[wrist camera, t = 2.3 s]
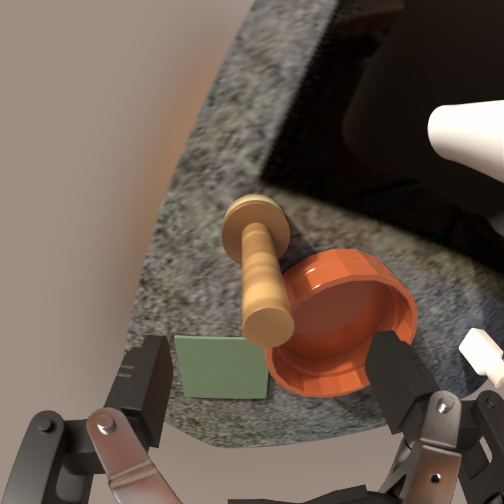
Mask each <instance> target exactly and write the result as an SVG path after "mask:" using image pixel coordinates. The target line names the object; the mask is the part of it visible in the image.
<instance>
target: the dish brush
mask: <svg viewBox="0 0 504 504" xmlns="http://www.w3.org/2000/svg"><path fill="white" fill-rule="evenodd" d="M290 238H291V231H290V226H289V223H288V221H287V219H286V217H285V215H284V213H283V211H282V209H281V207H280V206H279V205H278V204H277V203H276V202H275V201H274V200H272V199H271V198H269V197H267V196H264V195H258V194H251V195H246V196H243V197H241V198H239V199H237V200H236V201H235V202H233V203H232V204H231V206H230V207H229V208H228V210H227V212H226V214H225V217H224V222H223V228H222V243H223V246H224V249H225V251H226V252H227V254H228V255H229V256H230V257H231V258H232V259H233V260H234V261H236V262H237V263H239V264H241V265H242V330H243V334H244V336H245V338H246V339H247V340H248V341H249V342H250V343H251V344H253V345H255V346H257V347H261V348H273V347H277V346H280V345H282V344H284V343H285V342H287V341H288V340H289V339H290V338H291V336H292V335H293V333H294V330H295V321H294V317H293V314H292V310H291V306H290V302H289V298H288V295H287V291H286V287H285V283H284V280H283V276H282V272H281V269H280V265H279V261H278V259H280V258H281V257H282V256H283V254H284V253H285V252H286V250H287V248H288V246H289V243H290Z"/></svg>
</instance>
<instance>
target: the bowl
mask: <svg viewBox="0 0 504 504" xmlns="http://www.w3.org/2000/svg"><path fill="white" fill-rule="evenodd" d="M282 276H283V280H284V283H285V287H286V291H287V295H288V298H289V302H290V306H291V310H292V314H293V317H294V321H295V330H294V333H293V335H292V336H291V338H290V339H289V340H288V341H287V342H285V343H284V344H282V345H280V346H277V347H273V348H264V355H265V361H266V364H267V366H268V369H269V371H270V374H271V376H272V377H273V378H274V379H275V380H276V381H277V382H278V383H279V384H280V385H281V386H282V387H283V388H285V389H287V390H289V391H292V392H294V393H296V394H299V395H302V396H308V397H316V398H327V397H336V396H342V395H346V394H349V393H352V392H355V391H358V390H361V389H363V388H365V387H367V386H369V385H371V384H370V382H369V380H368V377H367V375H366V372H365V359H366V356H367V353H368V350H369V347H370V344H371V341H372V338H373V335H374V333H375V332H379V331H388V330H393V331H395V332H396V334H397V335H398V337H399V338H400V340H401V341H405V342H406V343H408V344H409V345H410V346H411V343H412V341H413V338H414V336H415V333H416V331H417V322H418V309H417V306H416V304H415V301H414V298H413V295H412V294H411V292H410V291H409V290H408V289H407V288H406V287H405V286H404V284H403V283H402V282H401V281H400V280H399V279H398V278H397V277H396V276H395V275H394V274H393V272H392V271H391V270H390V269H389V268H388V267H387V266H386V265H385V264H383V263H382V262H381V261H380V260H379V259H378V258H377V257H375V256H373V255H371V254H368V253H365V252H363V251H360V250H357V249H331V250H328V251H324V252H321V253H318V254H314V255H311V256H308V257H307V258H305V259H303V260H302V261H300V262H299V263H297V264H296V265H294V266H292V267H291V268H289V269H288V270H287V271H286V272H285V273H284V274H283V275H282Z"/></svg>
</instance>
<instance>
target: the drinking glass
mask: <svg viewBox="0 0 504 504" xmlns="http://www.w3.org/2000/svg"><path fill="white" fill-rule="evenodd" d="M428 136H429V140H430V143H431V145H432V147H433V149H434V150H435V151H436V153H437V154H438V155H440V156H441V157H442V158H444V159H447V160H451V161H454V162H458V163H460V164H463V165H465V166H468V167H470V168H472V169H475V170H477V171H480V172H482V173H484V174H486V175H488V176H490V177H492V178H495V179H496V180H499V181H501V182H503V183H504V100H498V101H488V102H478V103H469V104H461V105H444V106H440V107H438V108H437V109H435V110H434V111H433V113H432V114H431V116H430V119H429V122H428Z"/></svg>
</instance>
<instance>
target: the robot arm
mask: <svg viewBox="0 0 504 504" xmlns="http://www.w3.org/2000/svg"><path fill="white" fill-rule="evenodd" d="M365 372H366V375H367V377H368V380H369V382H370V384H371V386H372V389H373V391H374V393H375V396H376V398H377V400H378V402H379V405H380V407H381V409H382V412H383V414H384V416H385V419H386V421H387V424H388V426H389V428H390V430H391V433H392V435H393V434H397V433H401V432H403V434H404V437H403V439H402V441H401V443H400V446H399V449H398V452H397V454H396V457H395V460H394V462H393V464H392V467H391V470H390V472H389V474H388V477H387V478H386V480H385V482H384V483H383V484H382V486H381V487H380V489H379V491H378V492H373V491H367V489H366V486H365V485H360V486H356V487H351V488H347V489H342V490H336V491H333V492H330V493H328V494H325V495H323V496H320V497H318V498H315V499H312V500H310V501H307V502H304V503H289V502H281V501H274V500H267V499H244V500H243V499H241V500H240V499H239V500H237V499H234V500H232V499H228V504H451V501H452V497H453V493H454V489H455V485H456V482H457V477H458V478H459V481H460V484H461V486H462V489H463V492H464V495H465V498H466V501H467V504H504V400H503V399H502V397H501V396H500V395H499V394H498V393H496V392H494V391H491V390H486V391H483V392H481V393H480V394H479V396H478V397H477V399H476V400H472V401H460V400H459V398H458V397H457V396H456V395H455V394H453V393H452V392H449V391H445V390H440V388H439V386H438V385H437V383H436V382H435V380H434V378H433V377H432V375H431V374H430V372H429V371H428V369H427V368H426V366H424V363H423V361H422V360H421V358H420V359H419V355H418V354H417V352H416V351H415V349H414V348H413V347H412V346H410V345H409V344H408V343H406V342H405V341H401V340H400V338H399V337H398V335H397V334H396V332H395V331H393V330H388V331H379V332H375V333H374V335H373V338H372V341H371V344H370V347H369V350H368V353H367V356H366V359H365ZM172 380H173V364H172V359H171V354H170V349H169V344H168V339H167V337H166V336H157V335H146V337H145V339H144V342H143V344H142V347H141V348H139V347H133V348H132V349H131V350H130V351H129V352H128V353H127V354H126V355H125V356H124V359H123V361H122V363H121V367H120V368H119V370H118V373H117V376H116V378H115V380H114V383H113V385H112V388H111V390H110V392H109V395H108V397H107V400H106V403H105V405H104V407H103V408H101V409H98V410H96V411H95V412H93V413H92V414H91V415H90V416H89V418H88V419H84V420H70V421H69V420H67V421H64V420H63V419H62V417H61V416H60V415H59V414H58V413H56V412H54V411H50V410H49V411H42V412H40V413H38V414H36V415H35V416H34V417H33V419H32V420H31V422H30V424H29V427H28V429H27V431H26V433H25V436H24V438H23V441H22V443H21V446H20V449H19V451H18V454H17V457H16V459H15V462H14V465H13V467H12V471H11V473H10V476H9V479H8V482H7V485H6V489H5V492H4V496H3V499H2V503H1V504H88V501H89V496H90V490H91V485H92V480H93V476H94V474H107V476H108V479H109V482H108V484H109V487H110V489H111V491H112V493H113V495H114V497H115V499H116V501H117V502H118V504H182V502H181V501H180V500H179V498H178V497H177V496H176V494H175V493H174V492H173V490H172V489H171V488H170V486H169V485H168V483H167V482H166V481H165V479H164V478H163V476H162V475H161V473H160V472H159V470H158V469H157V467H156V466H155V465H154V464H153V462H152V461H151V459H150V457H149V456H148V450H149V447H156V448H159V442H160V437H161V432H162V427H163V422H164V417H165V413H166V408H167V403H168V398H169V394H170V389H171V385H172ZM483 436H484V438H485V440H486V442H487V444H488V446H489V448H490V450H491V452H492V461H491V463H489V461H488V459H487V456H486V454H485V452H484V450H483V448H482V446H481V444H480V441H479V440H480V439H481V438H482V437H483Z"/></svg>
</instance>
